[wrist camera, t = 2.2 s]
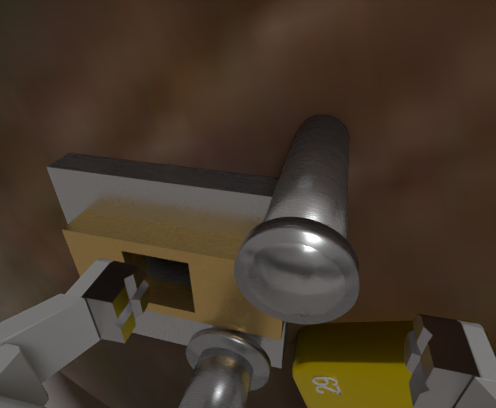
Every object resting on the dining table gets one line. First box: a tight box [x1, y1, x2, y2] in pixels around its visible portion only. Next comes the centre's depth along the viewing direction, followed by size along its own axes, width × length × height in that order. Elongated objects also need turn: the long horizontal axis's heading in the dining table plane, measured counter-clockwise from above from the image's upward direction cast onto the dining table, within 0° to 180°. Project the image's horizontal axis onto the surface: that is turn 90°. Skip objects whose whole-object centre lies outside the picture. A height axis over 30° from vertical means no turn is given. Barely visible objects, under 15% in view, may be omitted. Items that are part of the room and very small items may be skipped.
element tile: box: [292, 319, 496, 408], centre depth 29 cm, size 15×15×5 cm
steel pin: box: [234, 114, 359, 324], centre depth 16 cm, size 4×4×12 cm
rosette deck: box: [47, 153, 288, 408], centre depth 24 cm, size 18×18×12 cm
